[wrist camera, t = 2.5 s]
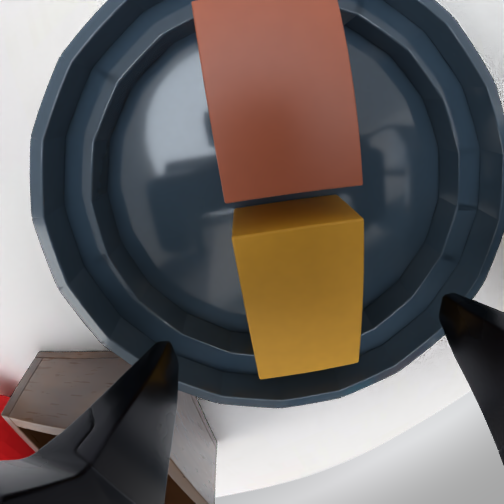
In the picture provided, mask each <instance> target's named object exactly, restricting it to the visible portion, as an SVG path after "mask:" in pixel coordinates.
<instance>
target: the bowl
mask: <svg viewBox="0 0 504 504" xmlns="http://www.w3.org/2000/svg"><path fill="white" fill-rule="evenodd" d="M192 1H196V0H108V1H107V2H106V3H105V4H104V5H103V6H102V7H101V8H100V9H99V10H98V11H97V12H96V13H95V14H94V15H93V17H92V18H91V19H90V20H89V21H88V22H87V23H86V24H85V26H84V27H83V28H82V29H81V30H80V32H79V33H78V34H77V35H76V36H75V38H74V39H73V40H72V41H71V43H70V44H69V45H68V46H67V48H66V49H65V50H64V52H63V53H62V54H61V57H59V59H58V62H57V64H56V66H55V69H54V71H53V74H52V76H51V79H50V81H49V84H48V86H47V89H46V92H45V94H44V97H43V100H42V103H41V106H40V109H39V112H38V115H37V118H36V121H35V124H34V127H33V131H32V134H31V141H30V195H31V213H32V218H33V219H32V220H33V223H34V227H35V230H36V233H37V236H38V239H39V241H40V244H41V247H42V250H43V253H44V255H45V258H46V261H47V263H48V266H49V268H50V271H51V273H52V276H53V278H54V281H55V283H56V285H57V287H58V288H59V291H60V292H61V294H62V295H63V296H64V298H65V299H66V300H67V302H68V303H69V304H70V306H71V307H72V308H73V310H74V311H75V312H76V313H77V315H78V316H79V317H80V318H81V320H82V321H83V322H84V323H85V325H86V326H87V327H88V328H89V330H90V331H91V332H92V333H93V334H94V336H95V337H96V338H97V339H98V340H99V341H100V343H102V344H103V345H104V346H105V347H106V348H108V349H109V350H110V351H112V352H113V353H115V354H116V355H117V356H119V357H120V358H122V359H123V360H124V361H126V362H127V363H129V364H130V365H134V364H135V363H136V362H137V361H138V360H139V359H140V358H141V357H142V356H143V355H144V354H145V353H146V352H147V351H148V350H149V349H150V348H151V347H152V346H153V345H154V344H155V343H156V342H159V341H170V342H171V344H172V346H173V349H174V351H175V354H176V356H177V359H178V363H179V373H178V390H179V391H182V392H184V393H187V394H190V395H193V396H196V397H199V398H202V399H205V400H208V401H211V402H215V403H219V404H227V405H238V406H250V407H265V408H287V407H293V406H300V405H306V404H311V403H317V402H322V401H328V400H333V399H337V398H341V397H344V396H346V395H349V394H351V393H354V392H356V391H358V390H361V389H363V388H365V387H367V386H370V385H372V384H374V383H376V382H378V381H380V380H383V379H385V378H387V377H389V376H391V375H393V374H395V373H397V371H398V372H399V371H400V370H402V369H403V368H404V367H406V366H407V365H408V364H410V363H411V362H412V361H413V360H415V359H416V358H417V357H419V356H420V355H421V354H422V353H424V352H425V351H426V350H427V349H429V348H430V347H431V346H432V345H433V344H435V343H436V342H437V341H438V340H439V339H441V338H442V337H443V336H444V335H445V333H444V330H443V328H442V326H441V324H440V321H439V311H440V306H441V301H442V297H443V296H444V295H445V294H449V293H456V294H459V295H462V296H464V297H467V298H469V299H473V298H474V296H475V295H476V294H477V292H478V291H479V289H480V288H481V286H482V285H483V283H484V281H485V279H486V277H487V275H488V272H489V270H490V267H491V265H492V262H493V260H494V257H495V255H496V252H497V250H498V247H499V244H500V241H501V238H502V236H503V233H504V113H503V109H502V105H501V101H500V98H499V94H498V91H497V87H496V84H495V83H494V80H493V78H492V76H491V74H490V72H489V71H488V69H487V67H486V65H485V64H484V62H483V60H482V59H481V57H480V55H479V54H478V52H477V51H476V49H475V47H474V46H473V44H472V43H471V41H470V40H469V38H468V37H467V35H466V34H465V32H464V31H463V29H462V28H461V27H460V25H459V24H458V22H457V21H456V20H455V18H454V17H452V15H451V14H450V13H449V12H448V11H447V10H446V9H444V8H443V7H442V6H441V5H440V4H439V3H438V2H436V1H435V0H338V4H339V9H340V13H341V18H342V23H343V27H344V32H345V37H346V43H347V48H348V54H349V60H350V66H351V72H352V79H353V86H354V93H355V101H356V109H357V117H358V127H359V137H360V148H361V162H362V177H363V185H361V186H352V187H343V188H334V189H326V190H318V191H310V192H302V193H295V194H287V195H280V196H273V197H266V198H259V199H253V200H246V201H240V202H233V203H225V202H224V196H223V191H222V185H221V179H220V174H219V168H218V163H217V157H216V151H215V146H214V140H213V134H212V128H211V122H210V117H209V111H208V105H207V99H206V93H205V87H204V81H203V75H202V68H201V62H200V56H199V50H198V43H197V37H196V31H195V24H194V18H193V11H192V4H191V2H192ZM328 195H338V196H339V197H340V198H341V199H342V200H343V201H345V202H346V203H347V204H348V205H349V206H350V207H351V208H352V209H353V210H355V211H356V212H357V213H358V214H359V215H360V216H361V217H362V218H363V219H364V285H363V309H362V326H361V340H360V352H359V361H358V362H357V363H354V364H349V365H344V366H339V367H334V368H329V369H324V370H319V371H313V372H307V373H301V374H295V375H289V376H282V377H275V378H268V379H260V378H259V375H258V370H257V366H256V361H255V356H254V351H253V346H252V341H251V336H250V331H249V326H248V321H247V316H246V311H245V306H244V301H243V296H242V291H241V286H240V281H239V275H238V270H237V265H236V260H235V254H234V249H233V244H232V228H233V215H234V209H236V208H242V207H248V206H255V205H262V204H269V203H275V202H282V201H290V200H297V199H304V198H312V197H320V196H328Z"/></svg>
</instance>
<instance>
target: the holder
mask: <svg viewBox="0 0 504 504" xmlns="http://www.w3.org/2000/svg"><path fill="white" fill-rule="evenodd" d="M131 366H132V365H130V364H129V363H127V362H126V361H124V360H123V359H122V358H120V357H119V356H117V355H116V354H115V353H113V352H112V351H96V352H38V354H37V355H36V357H35V359H34V360H33V362H32V363H31V365H30V366H29V368H28V370H27V371H26V373H25V374H24V376H23V378H22V379H21V381H20V382H19V384H18V386H17V387H16V389H15V391H14V392H13V394H12V396H11V397H10V399H9V401H8V403H7V404H6V406H5V408H4V410H3V411H2V413H1V416H2V417H3V418H4V419H5V420H6V422H7V423H8V424H9V425H10V426H11V427H12V428H13V429H14V431H15V432H16V433H17V434H18V435H19V436H20V437H21V438H22V439H23V440H24V441H25V442H26V443H27V444H28V445H29V446H30V447H31V448H32V449H33V450H34V451H35V452H37V451H38V450H39V449H41V448H42V447H43V446H45V445H46V444H47V443H48V442H50V441H51V440H52V439H53V438H55V437H56V436H57V435H58V434H60V433H61V432H62V431H63V430H65V429H66V428H67V427H68V426H69V425H71V424H72V423H73V422H74V421H75V420H76V419H77V418H78V417H79V416H81V415H82V414H83V413H84V412H85V411H86V410H87V409H88V408H89V407H91V405H92V404H93V403H94V402H95V401H96V400H97V399H98V398H99V397H100V396H101V395H102V394H103V393H105V392H106V391H107V390H108V389H109V388H110V387H111V386H112V385H113V384H114V383H115V382H116V381H117V380H118V379H119V378H120V377H121V376H122V375H123V374H124V373H125V372H126V371H127V370H128V369H129V368H130V367H131ZM216 455H217V442H216V440H215V437H214V435H213V433H212V431H211V429H210V427H209V425H208V423H207V421H206V418H205V416H204V414H203V412H202V410H201V407H200V405H199V403H198V401H197V398H196V396H193V395H190V394H187V393H184V392H182V391H179V390H178V401H177V412H176V419H175V426H174V432H173V439H172V446H171V454H170V461H169V469H168V477H167V485H166V493H165V502H164V504H215V478H216Z"/></svg>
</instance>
